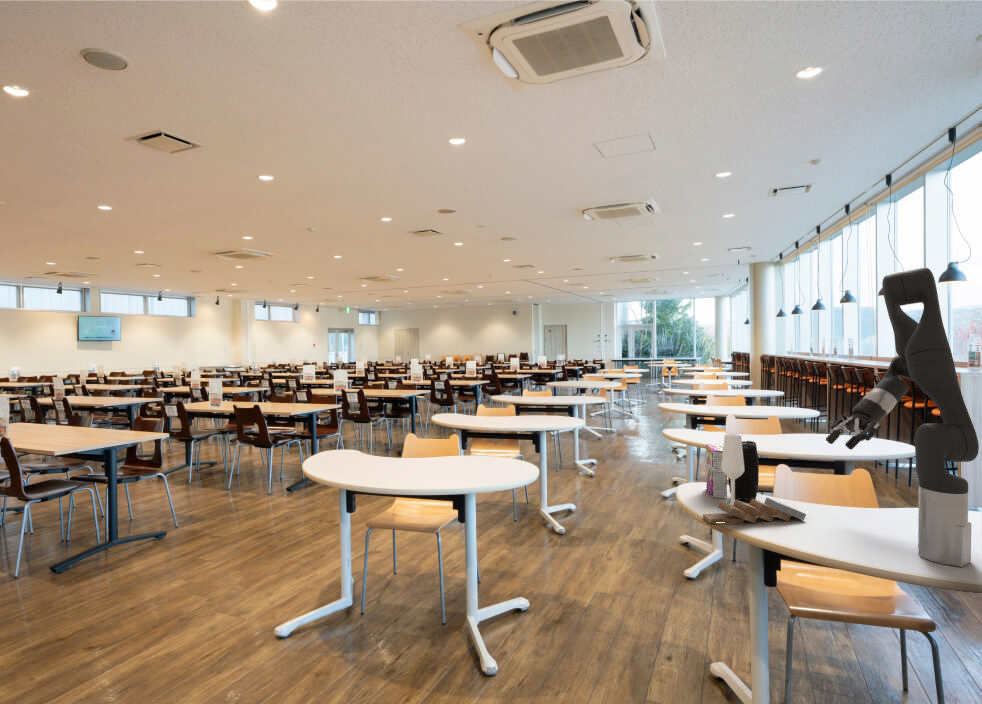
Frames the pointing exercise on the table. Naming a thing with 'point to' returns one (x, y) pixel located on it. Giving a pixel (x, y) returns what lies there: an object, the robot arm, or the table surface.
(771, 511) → the walnut domino
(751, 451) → the portable speaker
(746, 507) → the walnut domino
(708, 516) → the walnut domino
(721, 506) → the walnut domino
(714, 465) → the candy bar box
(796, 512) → the grey domino
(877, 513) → the table surface
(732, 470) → the champagne flute
